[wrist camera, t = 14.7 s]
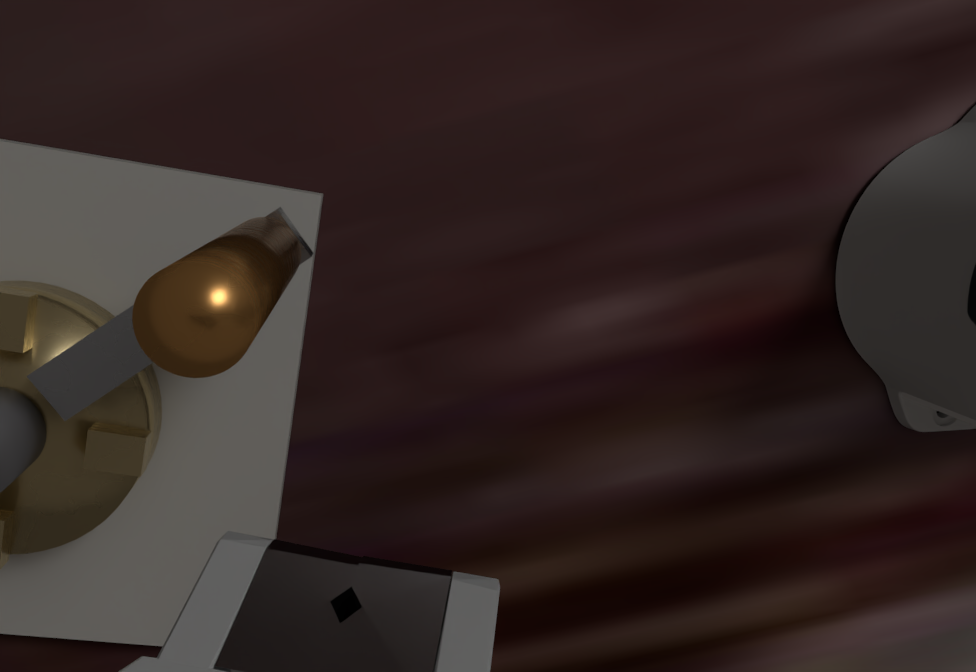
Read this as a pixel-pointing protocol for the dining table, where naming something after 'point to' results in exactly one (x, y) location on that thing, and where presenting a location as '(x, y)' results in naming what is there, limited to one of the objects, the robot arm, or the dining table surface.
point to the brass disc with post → (125, 371)
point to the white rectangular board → (185, 401)
